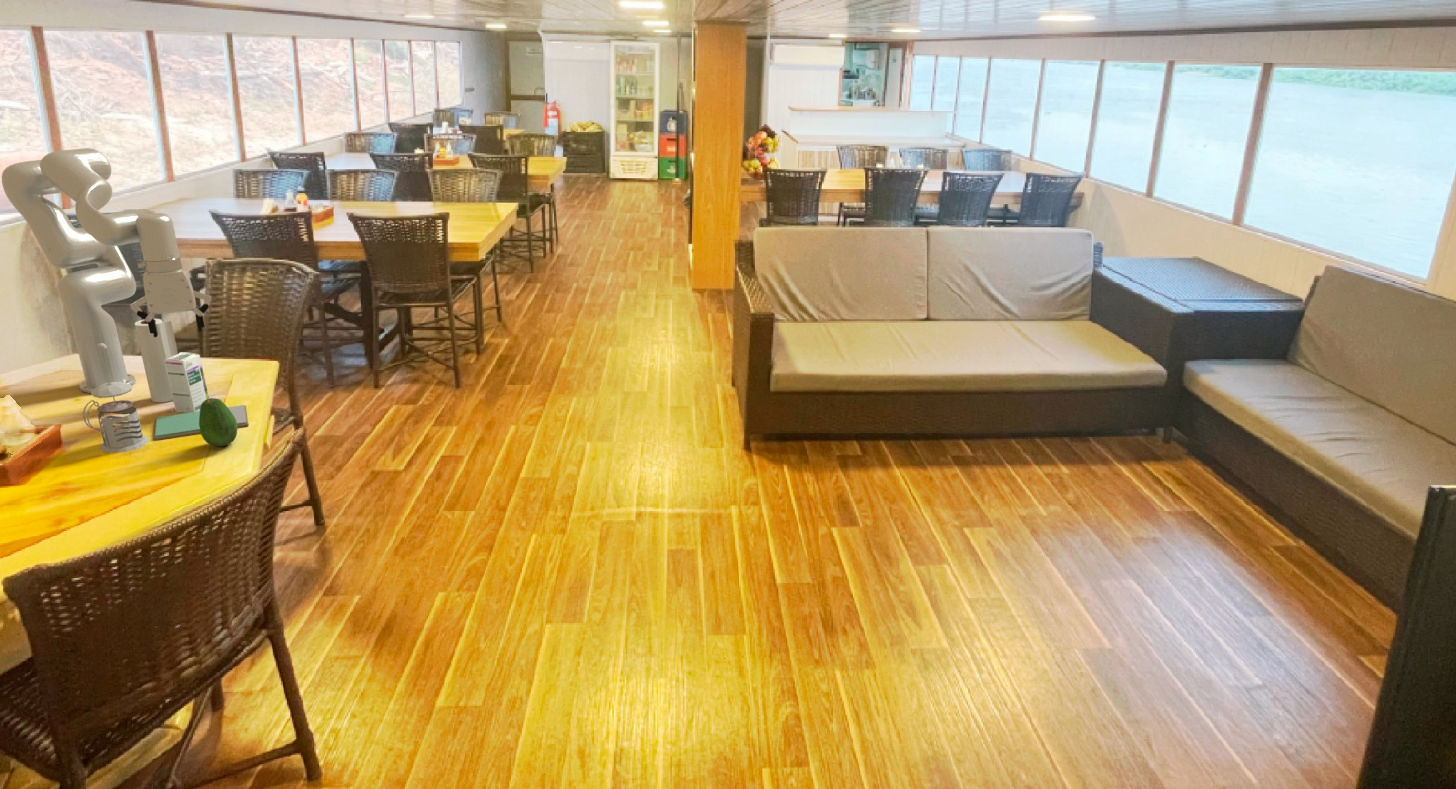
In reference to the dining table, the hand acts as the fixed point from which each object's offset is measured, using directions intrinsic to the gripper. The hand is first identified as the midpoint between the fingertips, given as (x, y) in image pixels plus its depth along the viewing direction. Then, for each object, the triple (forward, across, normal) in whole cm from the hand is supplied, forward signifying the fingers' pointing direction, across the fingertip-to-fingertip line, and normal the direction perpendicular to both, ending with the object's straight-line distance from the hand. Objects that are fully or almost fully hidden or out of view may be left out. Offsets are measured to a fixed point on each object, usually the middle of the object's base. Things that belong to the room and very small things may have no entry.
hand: (178, 333), depth 225 cm
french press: (+21, -15, -16) cm, 31 cm away
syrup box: (+21, 0, +1) cm, 21 cm away
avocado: (+21, +6, -26) cm, 34 cm away
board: (+21, +2, -10) cm, 23 cm away
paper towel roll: (+21, -6, +11) cm, 24 cm away
